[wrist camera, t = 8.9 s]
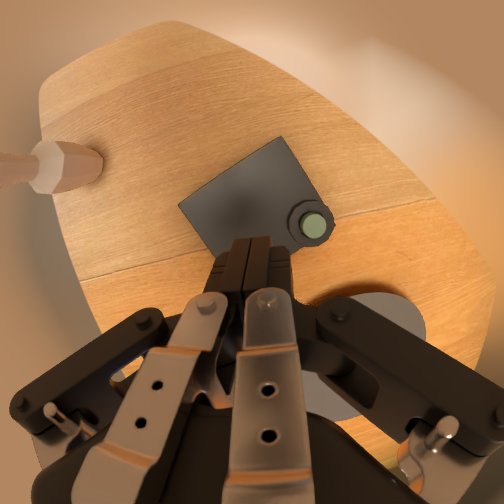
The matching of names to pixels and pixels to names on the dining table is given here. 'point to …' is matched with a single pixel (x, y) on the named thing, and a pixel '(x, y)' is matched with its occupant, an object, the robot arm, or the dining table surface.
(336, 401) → the flat disc
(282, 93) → the dining table surface
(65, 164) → the low poly bottle
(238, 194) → the scale
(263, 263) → the robot arm
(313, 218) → the button
